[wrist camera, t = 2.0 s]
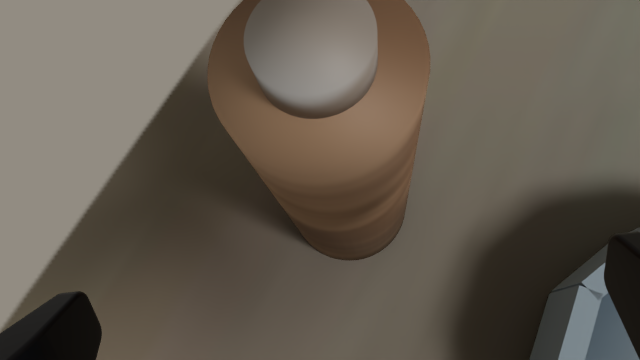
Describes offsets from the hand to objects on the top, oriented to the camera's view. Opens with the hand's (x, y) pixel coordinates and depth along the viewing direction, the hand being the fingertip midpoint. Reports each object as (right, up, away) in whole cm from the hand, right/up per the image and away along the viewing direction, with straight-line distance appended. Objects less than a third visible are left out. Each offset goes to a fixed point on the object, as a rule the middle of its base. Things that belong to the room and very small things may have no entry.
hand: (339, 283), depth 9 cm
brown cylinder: (+1, +1, +12) cm, 12 cm away
